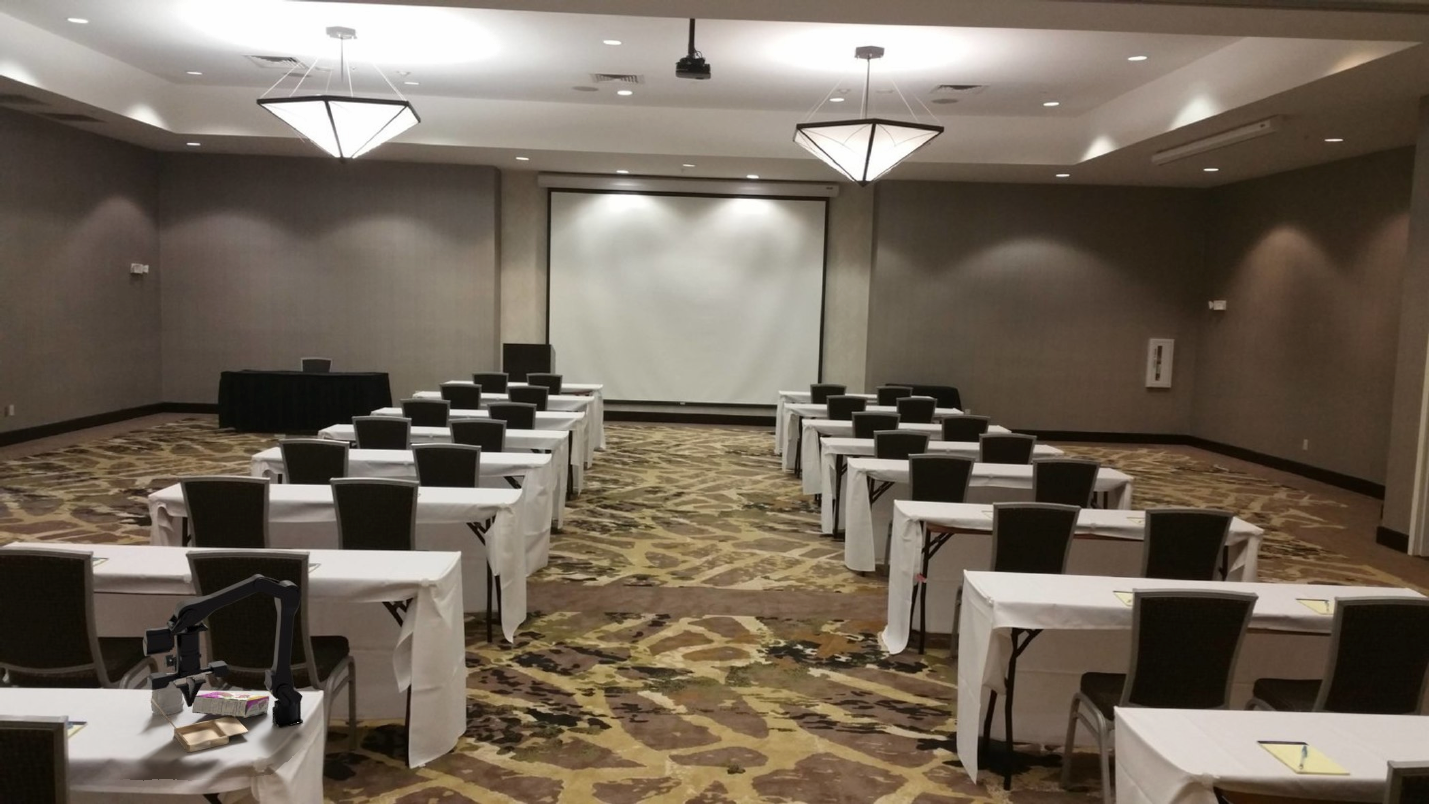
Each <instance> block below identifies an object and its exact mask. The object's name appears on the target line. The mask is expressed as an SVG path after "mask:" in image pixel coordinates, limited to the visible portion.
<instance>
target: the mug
mask: <svg viewBox="0 0 1429 804" xmlns="http://www.w3.org/2000/svg"><path fill="white" fill-rule="evenodd" d="M166 674H167V675H170V674H175V672H174V673H173V672H169V673H166ZM151 690H152V689H151ZM151 698H152V699H153V700H154V702H155V703H156V704H157V705H158V706H159V708H160V709H161V710H162V711H163V712H164V714H165V715H166V716H168V715H171V714H172V715H175V714H177V713H180V712H181V711H182V710H183V708H184V705H185V699H184V696H183V694H182V692H181V690H180V688H176V687H175V686H174V685H173V684H172V682H169V685H168V686H167V687H166V688H163V689H157V690H152V691H151ZM154 702H153V701H152V700H151V699H150V704H151V705H150V706H151V711H152V712H153V715H154V716H156V715H160V714H161V716H163V715H162V714H163V713H162V712H161V711H160V709H159V708H158V707H157V706H156V704H155V703H154ZM167 714H168V715H167ZM165 715H164V716H165Z"/></svg>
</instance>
